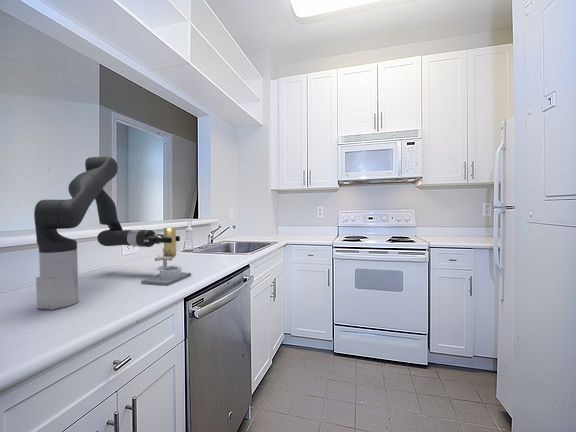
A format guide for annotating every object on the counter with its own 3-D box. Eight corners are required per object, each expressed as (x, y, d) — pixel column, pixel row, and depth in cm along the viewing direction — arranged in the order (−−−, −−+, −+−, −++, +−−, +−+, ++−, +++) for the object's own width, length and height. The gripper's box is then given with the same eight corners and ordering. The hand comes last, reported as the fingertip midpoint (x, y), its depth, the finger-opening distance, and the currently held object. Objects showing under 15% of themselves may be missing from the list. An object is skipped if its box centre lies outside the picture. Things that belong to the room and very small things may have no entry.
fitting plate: (167, 285, 105) (167, 275, 105) (141, 283, 108) (141, 273, 108) (191, 275, 121) (190, 266, 121) (167, 274, 124) (167, 265, 123)
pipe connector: (179, 266, 138) (179, 247, 138) (161, 270, 130) (161, 250, 129) (168, 264, 143) (167, 246, 143) (149, 268, 135) (149, 248, 135)
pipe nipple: (171, 257, 113) (171, 228, 113) (161, 256, 114) (161, 228, 114) (178, 255, 118) (178, 227, 118) (169, 254, 119) (168, 227, 119)
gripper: (128, 231, 112) (164, 232, 108) (153, 228, 126) (185, 229, 122) (129, 249, 112) (164, 251, 109) (153, 244, 126) (185, 245, 122)
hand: (175, 239), depth 115 cm, fingers closed on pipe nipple, 4 cm apart
